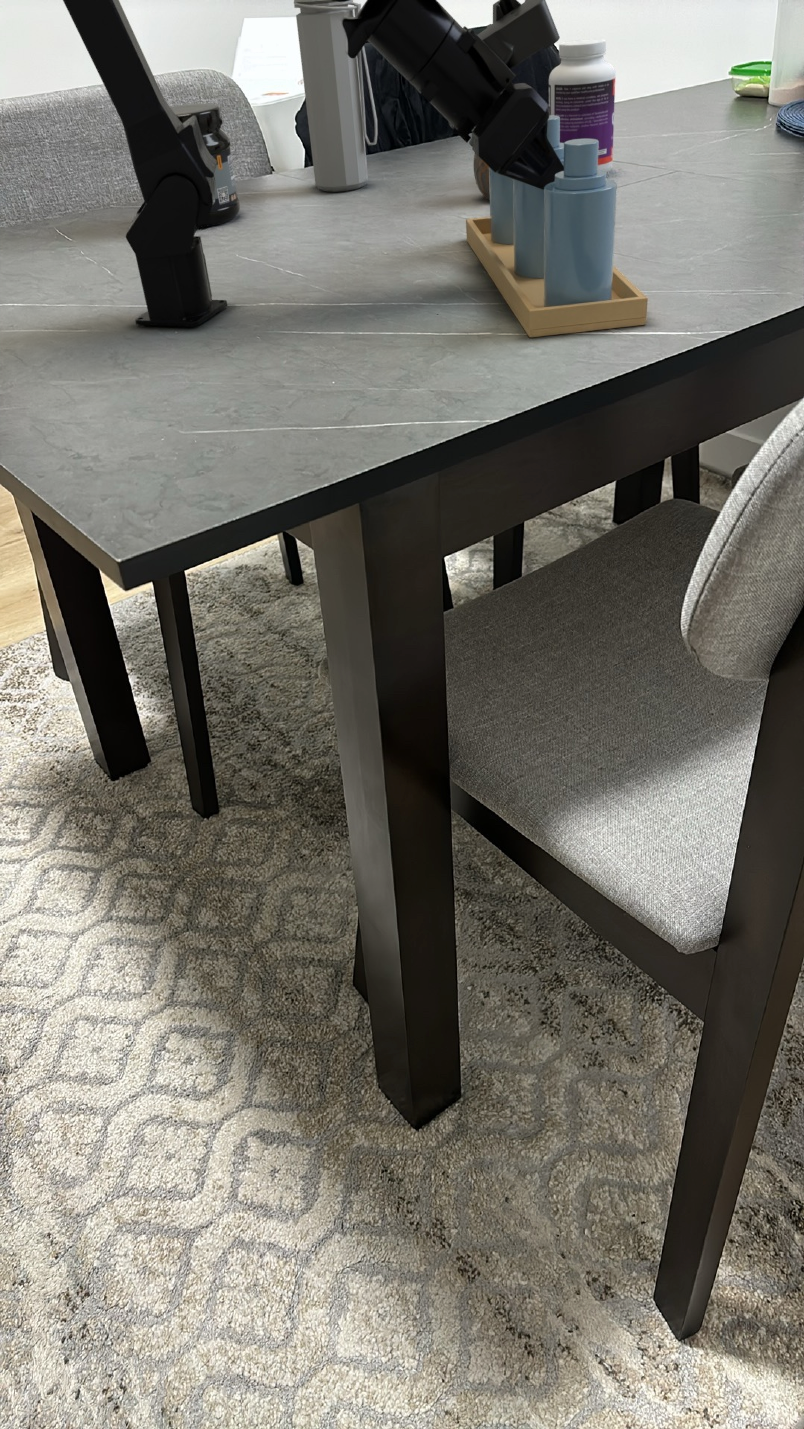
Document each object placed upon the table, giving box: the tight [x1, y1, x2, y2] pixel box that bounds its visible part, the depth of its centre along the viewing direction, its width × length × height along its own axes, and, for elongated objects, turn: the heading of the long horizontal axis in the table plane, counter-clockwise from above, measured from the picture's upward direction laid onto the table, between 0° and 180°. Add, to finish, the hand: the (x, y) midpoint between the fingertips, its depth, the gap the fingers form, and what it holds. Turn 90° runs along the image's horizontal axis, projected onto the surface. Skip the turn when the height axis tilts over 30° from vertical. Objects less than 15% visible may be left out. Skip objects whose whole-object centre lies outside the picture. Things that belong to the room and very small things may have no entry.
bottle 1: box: [489, 167, 514, 245], centre depth 103 cm, size 6×6×12 cm
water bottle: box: [293, 0, 378, 193], centre depth 130 cm, size 9×8×25 cm
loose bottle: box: [513, 115, 564, 278], centre depth 93 cm, size 6×6×12 cm
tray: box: [465, 216, 649, 338], centre depth 96 cm, size 34×10×2 cm, turn 6°
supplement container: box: [169, 103, 241, 229], centre depth 125 cm, size 10×10×12 cm
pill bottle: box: [548, 38, 616, 174], centre depth 128 cm, size 8×8×14 cm
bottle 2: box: [543, 139, 618, 307], centre depth 82 cm, size 6×6×12 cm
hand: (560, 183), depth 92 cm, fingers open, 9 cm apart
